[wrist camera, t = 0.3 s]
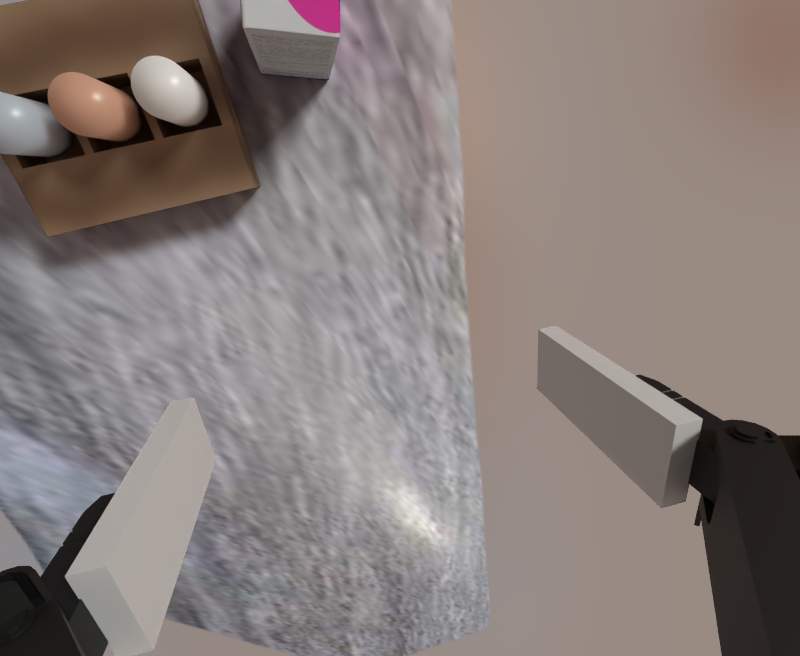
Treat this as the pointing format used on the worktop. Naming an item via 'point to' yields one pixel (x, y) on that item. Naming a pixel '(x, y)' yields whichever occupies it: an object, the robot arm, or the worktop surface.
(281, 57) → the supplement box
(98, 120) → the brown egg
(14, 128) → the pale blue egg
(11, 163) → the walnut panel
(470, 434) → the worktop surface
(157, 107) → the white egg
